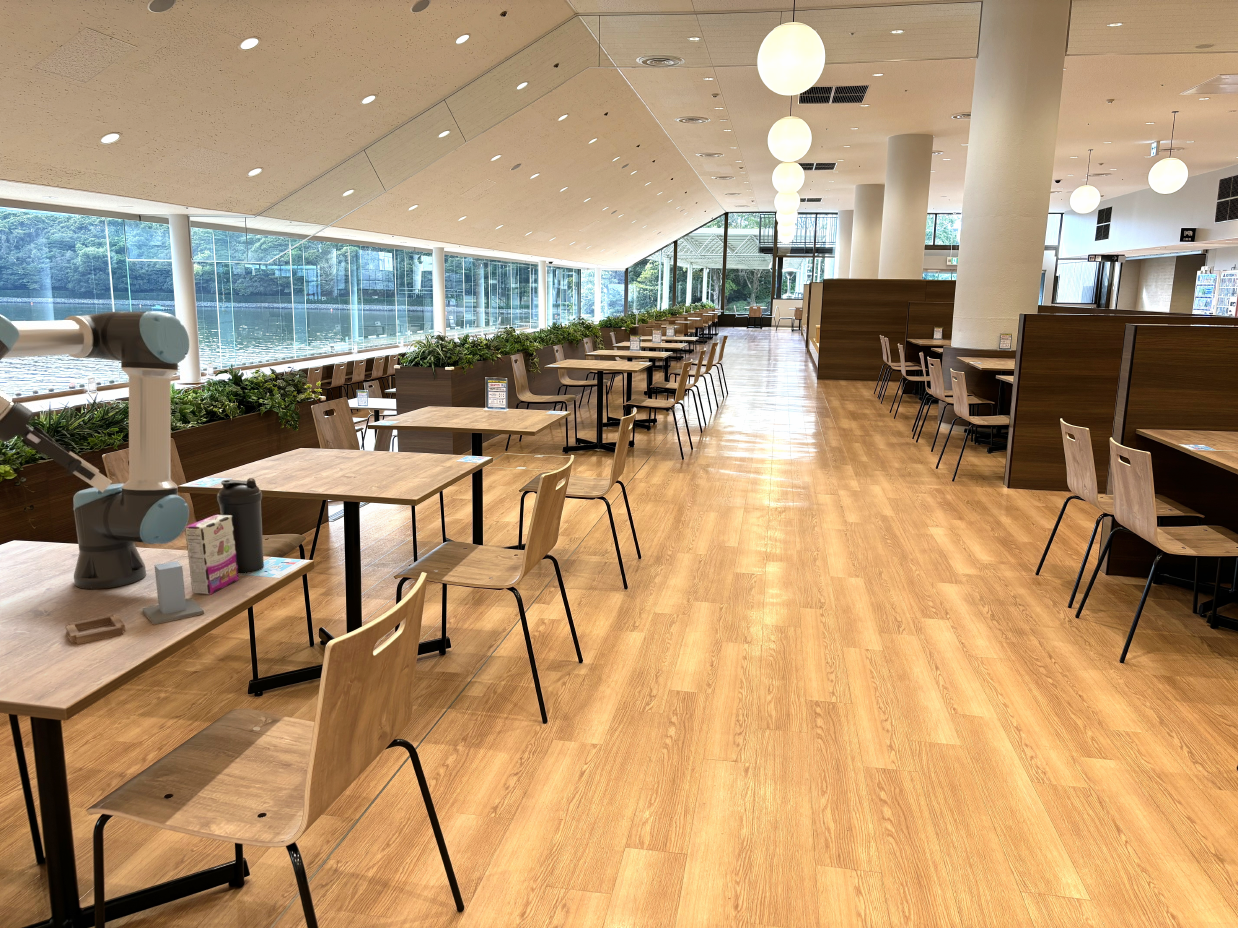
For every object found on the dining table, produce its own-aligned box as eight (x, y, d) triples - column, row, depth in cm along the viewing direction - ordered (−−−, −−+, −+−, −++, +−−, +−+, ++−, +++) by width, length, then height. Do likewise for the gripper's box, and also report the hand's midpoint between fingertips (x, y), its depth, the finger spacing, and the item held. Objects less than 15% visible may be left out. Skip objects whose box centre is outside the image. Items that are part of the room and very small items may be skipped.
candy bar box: (221, 578, 211) (215, 513, 208) (239, 580, 210) (233, 514, 207) (190, 594, 200) (183, 525, 197) (209, 595, 199) (202, 527, 196)
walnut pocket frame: (65, 630, 178) (64, 624, 178) (117, 620, 184) (116, 613, 184) (73, 645, 171) (72, 638, 170) (127, 633, 177) (126, 626, 176)
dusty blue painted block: (159, 608, 188) (154, 564, 186) (181, 603, 191) (177, 560, 189) (163, 614, 185) (159, 569, 183) (186, 609, 188) (182, 565, 186)
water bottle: (224, 565, 221) (216, 477, 217) (267, 560, 225) (260, 474, 221) (223, 576, 212) (215, 485, 208) (268, 571, 216) (260, 482, 212)
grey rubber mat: (142, 611, 189) (142, 608, 189) (191, 601, 195) (191, 597, 195) (153, 624, 181) (152, 621, 181) (204, 613, 188) (203, 610, 187)
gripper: (-21, 422, 171) (76, 484, 184) (-9, 439, 152) (98, 507, 165) (7, 393, 173) (102, 457, 186) (23, 406, 155) (126, 476, 167)
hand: (100, 480), depth 175 cm, fingers open, 13 cm apart
